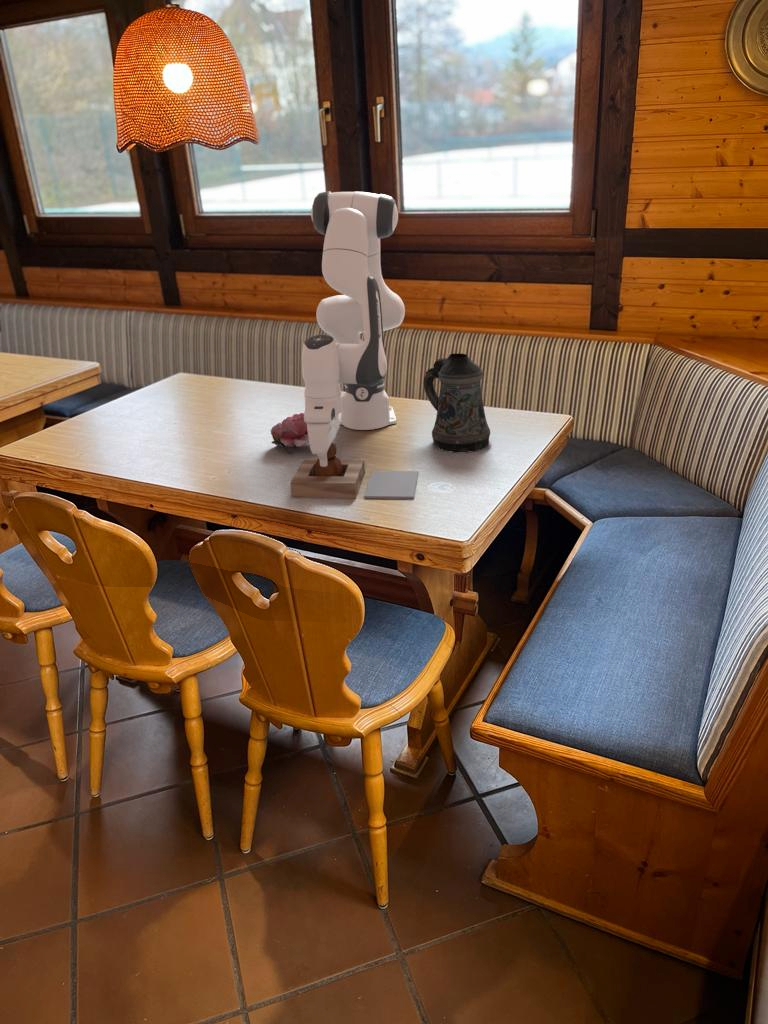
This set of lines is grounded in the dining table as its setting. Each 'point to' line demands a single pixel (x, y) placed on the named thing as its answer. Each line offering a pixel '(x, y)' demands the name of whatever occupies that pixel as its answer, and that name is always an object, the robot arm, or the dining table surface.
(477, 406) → the beer stein
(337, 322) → the robot arm
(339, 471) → the wooden figurine
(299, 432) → the flower
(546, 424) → the dining table surface
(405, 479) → the slate mat
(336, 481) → the walnut socket block
